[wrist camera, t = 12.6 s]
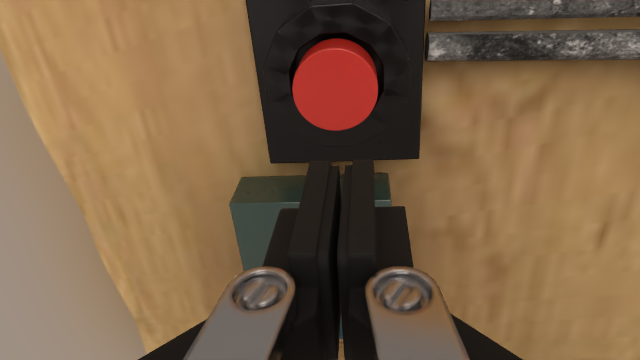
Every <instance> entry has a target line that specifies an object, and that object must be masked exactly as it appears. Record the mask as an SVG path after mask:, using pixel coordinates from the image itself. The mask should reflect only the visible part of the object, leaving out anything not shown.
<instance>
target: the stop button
mask: <svg viewBox="0 0 640 360" xmlns="http://www.w3.org/2000/svg"><path fill="white" fill-rule="evenodd" d="M292 92H293V98H294V102H295V104H296V106H297V109H298V110H299V112H300V113H301V114H302V116H303V117H304V118H305V119H306V120H307V121H309V122H310V123H312V124H313V125H315V126H317V127H319V128H322V129H326V130H332V131H338V130H345V129H349V128H352V127H354V126H356V125H358V124H359V123H361V122H362V121H364V120H365V119H366V118H367V117H368V116H369V114H370V113H371V112H372V110H373V108H374V106H375V104H376V101H377V96H378V81H377V72H376V67H375V64H374V62H373V60H372V58H371V56H370V55H369V54H368V52H367V51H366V50H365V49H364V48H362V47H361V46H360V45H358V44H357V43H355V42H352V41H350V40H346V39H340V38H333V39H327V40H324V41H321V42H319V43H317V44H315V45H314V46H312V47H311V48H310V49H309V50H308V51H307V52H306V53H305V55H304V56H303V58H302V59H301V61H300V64H299V66H298V68H297V71H296V73H295V76H294V79H293V86H292Z"/></svg>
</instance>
